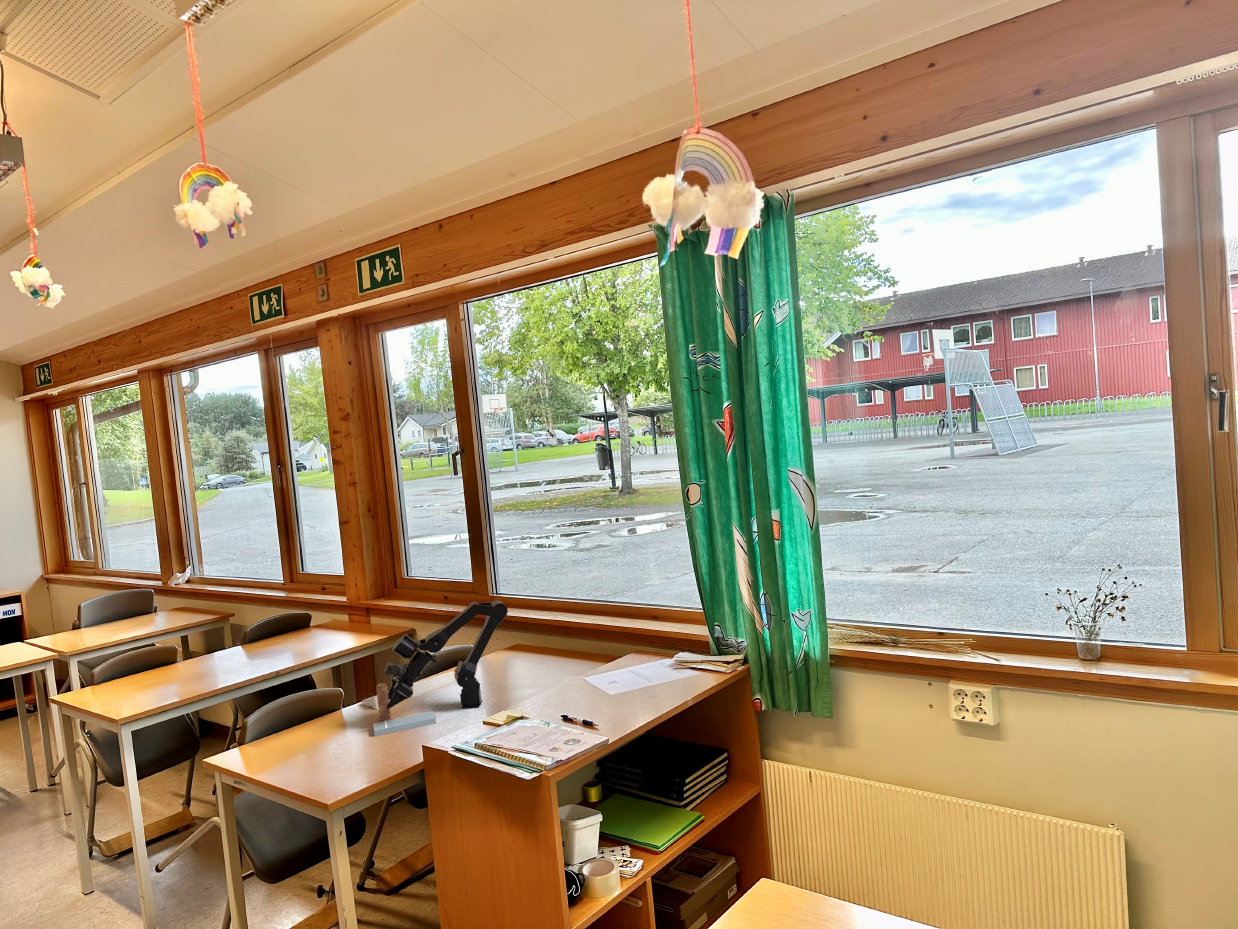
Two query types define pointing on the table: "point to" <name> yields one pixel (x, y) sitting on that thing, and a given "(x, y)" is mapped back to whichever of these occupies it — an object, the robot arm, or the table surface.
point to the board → (404, 723)
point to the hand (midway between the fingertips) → (386, 704)
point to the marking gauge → (383, 703)
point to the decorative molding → (421, 687)
